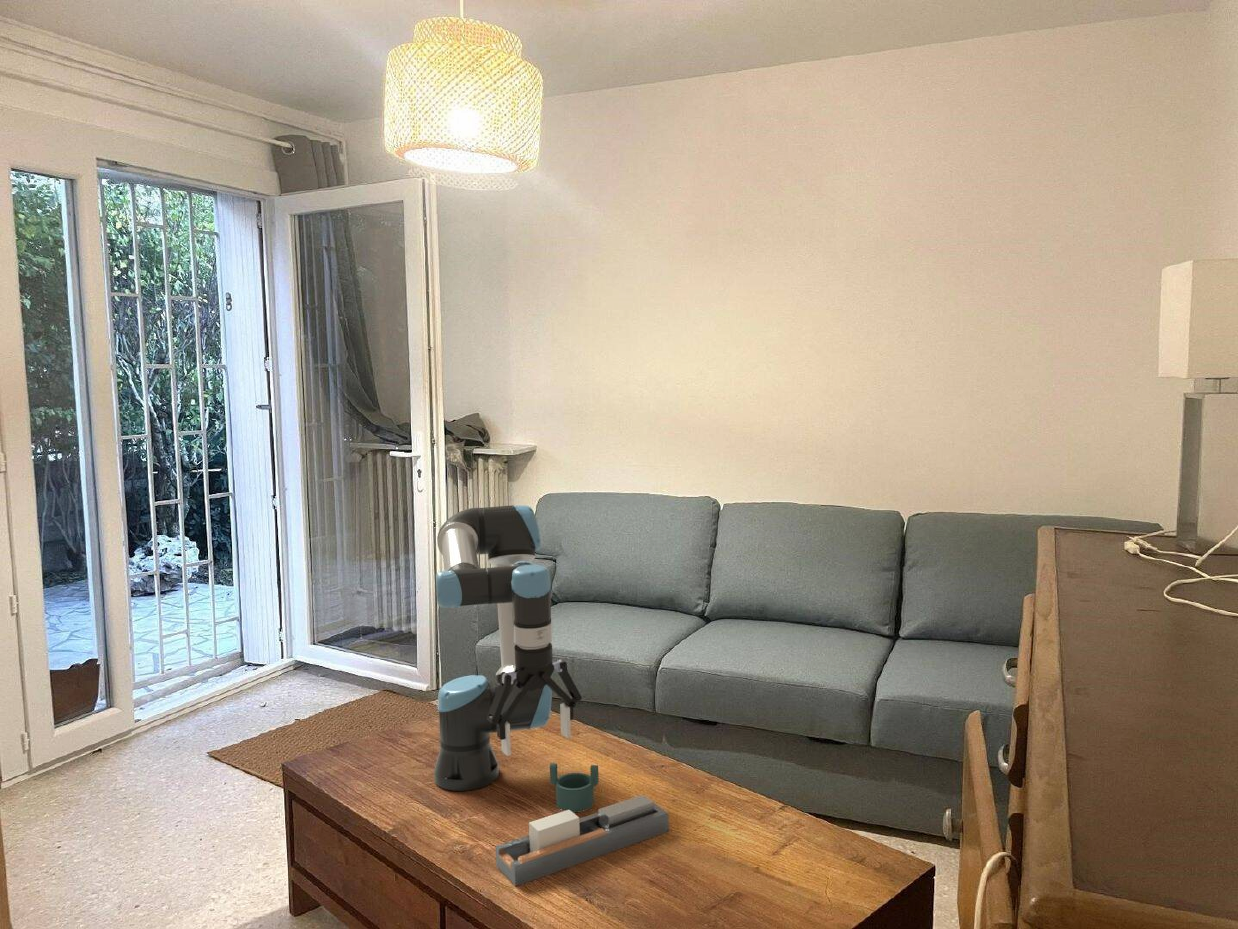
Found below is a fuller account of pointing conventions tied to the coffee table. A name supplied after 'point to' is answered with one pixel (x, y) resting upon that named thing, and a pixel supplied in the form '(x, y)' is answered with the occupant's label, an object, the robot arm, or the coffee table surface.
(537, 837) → the block
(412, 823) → the coffee table surface
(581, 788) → the teal cylindrical holder
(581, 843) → the rack
